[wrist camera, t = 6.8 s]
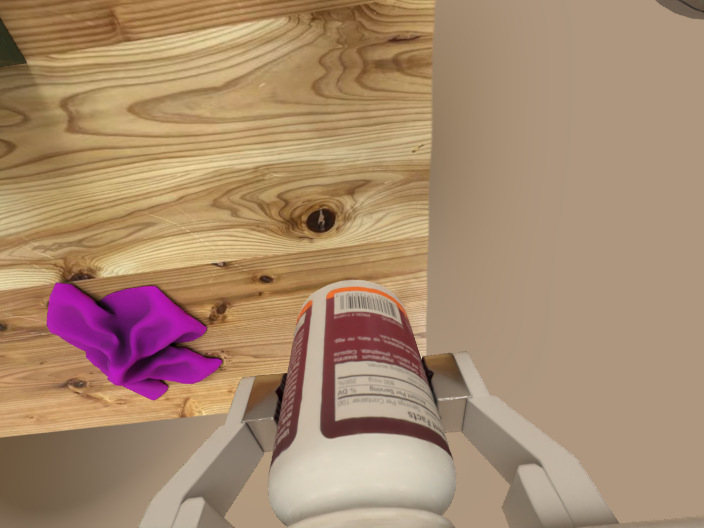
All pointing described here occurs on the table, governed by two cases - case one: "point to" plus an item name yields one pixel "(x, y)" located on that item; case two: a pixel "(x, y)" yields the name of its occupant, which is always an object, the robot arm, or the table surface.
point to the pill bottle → (358, 419)
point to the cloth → (131, 336)
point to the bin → (8, 49)
